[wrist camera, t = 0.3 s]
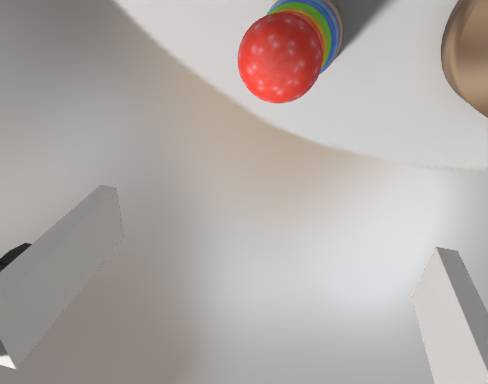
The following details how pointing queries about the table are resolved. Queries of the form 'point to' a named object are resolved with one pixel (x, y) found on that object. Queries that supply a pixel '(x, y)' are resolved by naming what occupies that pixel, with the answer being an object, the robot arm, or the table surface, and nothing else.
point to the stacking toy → (289, 48)
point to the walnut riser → (467, 52)
